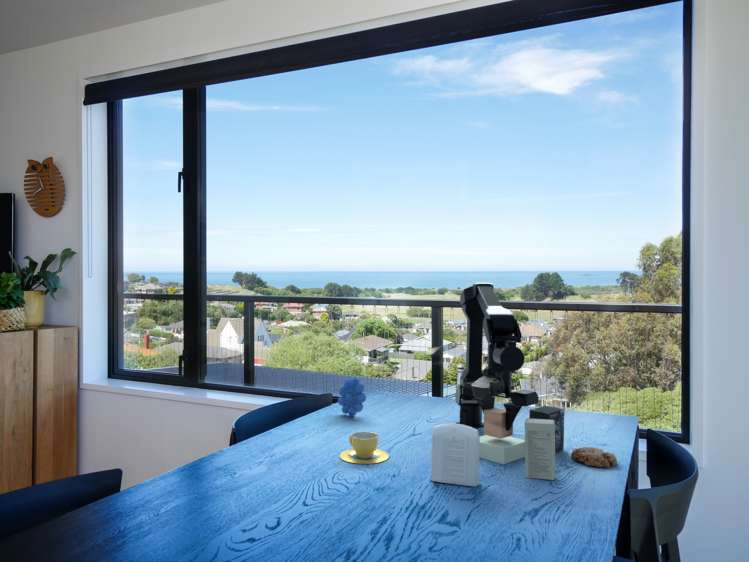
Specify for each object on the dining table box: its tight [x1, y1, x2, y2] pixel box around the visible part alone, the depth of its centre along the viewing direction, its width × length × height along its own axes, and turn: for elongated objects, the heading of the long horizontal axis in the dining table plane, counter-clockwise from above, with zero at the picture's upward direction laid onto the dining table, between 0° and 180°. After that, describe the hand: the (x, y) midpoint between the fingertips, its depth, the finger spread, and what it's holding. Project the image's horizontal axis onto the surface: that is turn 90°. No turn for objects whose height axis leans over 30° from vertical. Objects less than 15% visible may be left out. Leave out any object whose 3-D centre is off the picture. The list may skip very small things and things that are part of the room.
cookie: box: [570, 446, 618, 469], centre depth 143 cm, size 10×11×3 cm
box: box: [529, 405, 566, 454], centre depth 151 cm, size 8×6×11 cm
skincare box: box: [524, 417, 556, 481], centre depth 132 cm, size 6×4×12 cm
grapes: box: [337, 377, 367, 417], centre depth 185 cm, size 12×7×12 cm, turn 45°
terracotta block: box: [483, 406, 514, 439], centre depth 147 cm, size 5×5×6 cm
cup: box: [339, 431, 390, 465], centre depth 144 cm, size 12×12×5 cm
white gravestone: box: [430, 422, 480, 488], centre depth 127 cm, size 10×4×12 cm, turn 72°
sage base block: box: [479, 434, 525, 465], centre depth 147 cm, size 10×10×4 cm
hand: (498, 428), depth 147 cm, fingers closed on terracotta block, 5 cm apart
